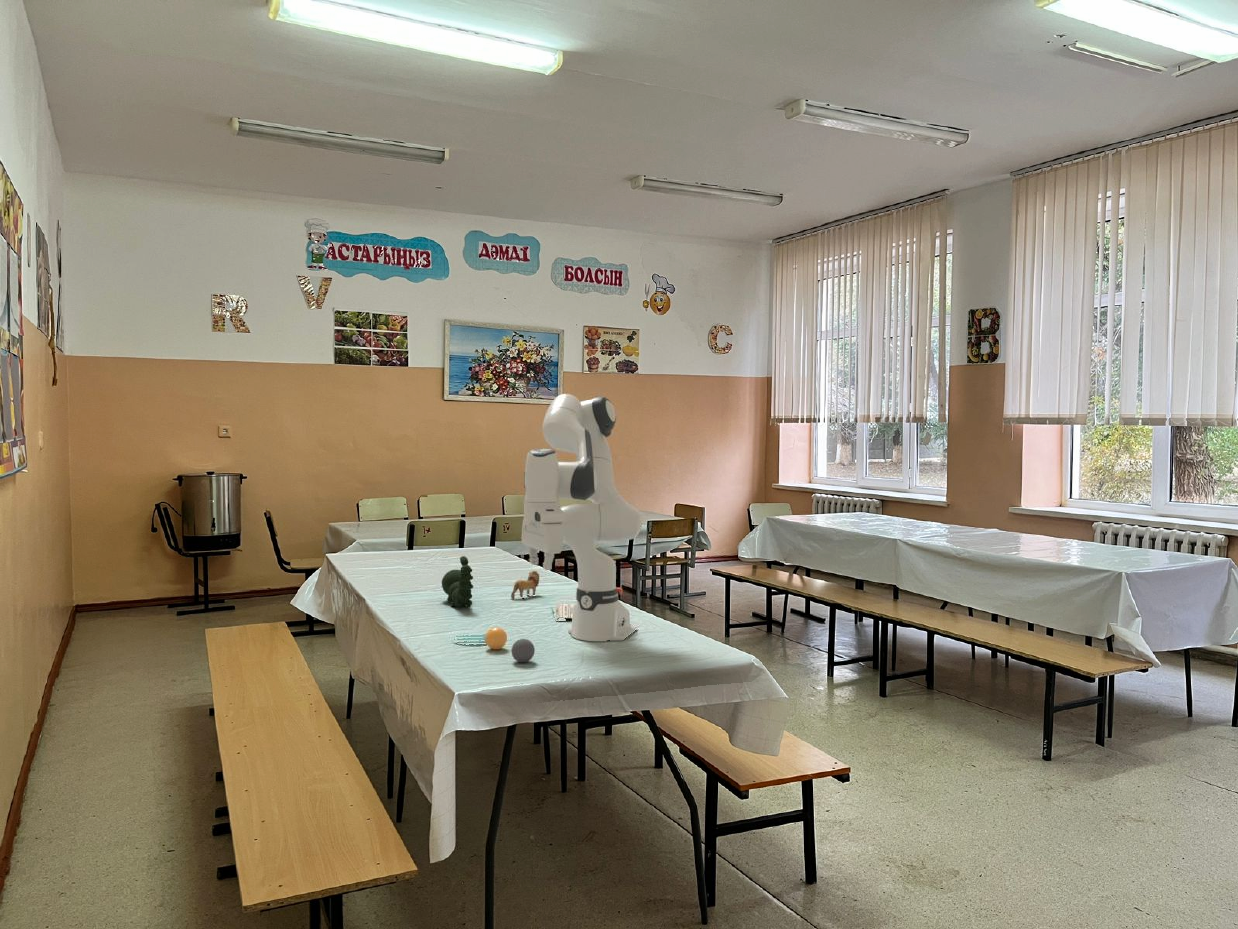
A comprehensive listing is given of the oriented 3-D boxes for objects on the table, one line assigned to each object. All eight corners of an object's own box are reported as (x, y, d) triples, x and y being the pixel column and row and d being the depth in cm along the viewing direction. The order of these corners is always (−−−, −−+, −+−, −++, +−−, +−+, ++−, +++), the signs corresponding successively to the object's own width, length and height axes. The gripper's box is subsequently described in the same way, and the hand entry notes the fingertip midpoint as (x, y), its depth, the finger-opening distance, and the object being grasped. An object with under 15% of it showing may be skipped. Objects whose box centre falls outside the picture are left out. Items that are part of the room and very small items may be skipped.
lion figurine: (530, 593, 307) (530, 569, 307) (542, 595, 304) (543, 570, 304) (507, 600, 294) (507, 575, 294) (519, 602, 291) (519, 576, 291)
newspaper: (550, 609, 284) (551, 601, 284) (586, 613, 285) (587, 605, 285) (549, 624, 262) (550, 616, 262) (588, 628, 263) (589, 620, 262)
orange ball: (493, 645, 233) (494, 624, 233) (511, 648, 230) (511, 626, 230) (480, 650, 228) (480, 628, 227) (498, 653, 225) (498, 631, 224)
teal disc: (472, 631, 248) (472, 630, 248) (510, 638, 241) (510, 637, 241) (441, 641, 236) (441, 640, 236) (480, 648, 229) (480, 648, 229)
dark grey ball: (520, 657, 221) (520, 635, 220) (538, 661, 218) (539, 638, 217) (506, 663, 215) (506, 640, 215) (525, 666, 212) (525, 643, 212)
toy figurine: (479, 615, 277) (463, 594, 300) (481, 559, 275) (465, 542, 298) (451, 617, 274) (437, 595, 296) (453, 561, 271) (438, 543, 294)
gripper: (516, 509, 219) (515, 561, 220) (544, 516, 201) (543, 573, 201) (538, 509, 222) (537, 560, 223) (568, 516, 204) (567, 572, 204)
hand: (540, 567), depth 212 cm, fingers open, 8 cm apart
